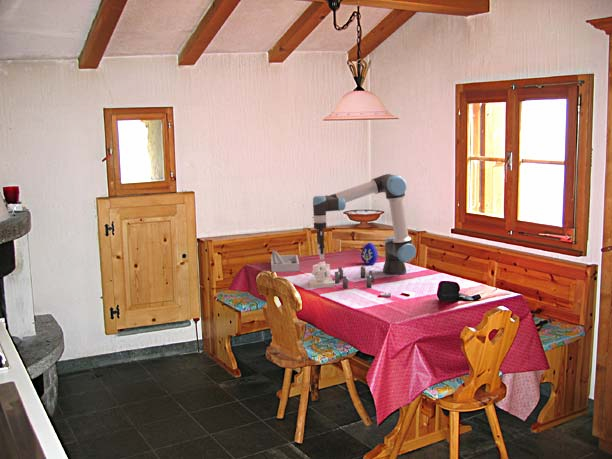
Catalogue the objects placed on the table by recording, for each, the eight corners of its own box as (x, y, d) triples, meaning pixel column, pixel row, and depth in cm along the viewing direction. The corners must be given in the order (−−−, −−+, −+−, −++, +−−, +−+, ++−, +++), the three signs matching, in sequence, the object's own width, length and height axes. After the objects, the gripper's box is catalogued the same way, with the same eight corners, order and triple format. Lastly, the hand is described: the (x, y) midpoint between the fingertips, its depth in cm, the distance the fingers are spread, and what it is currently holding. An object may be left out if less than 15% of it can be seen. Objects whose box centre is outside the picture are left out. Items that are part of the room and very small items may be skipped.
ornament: (359, 264, 473) (359, 243, 470) (365, 262, 480) (365, 241, 478) (374, 266, 467) (374, 244, 464) (380, 263, 475) (380, 242, 472)
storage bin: (297, 261, 487) (297, 254, 486) (299, 271, 458) (299, 263, 457) (271, 262, 486) (271, 255, 485) (271, 272, 457) (271, 264, 456)
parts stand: (331, 281, 427) (331, 277, 426) (333, 287, 413) (333, 283, 412) (308, 282, 426) (308, 278, 426) (310, 287, 412) (310, 283, 412)
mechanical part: (324, 277, 426) (324, 258, 425) (333, 281, 416) (333, 262, 414) (308, 279, 422) (307, 260, 420) (317, 284, 411) (316, 264, 409)
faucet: (293, 264, 461) (279, 243, 472) (278, 270, 458) (265, 249, 469) (293, 276, 472) (279, 256, 483) (279, 282, 469) (266, 261, 480)
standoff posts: (370, 276, 437) (370, 266, 436) (377, 287, 409) (377, 276, 408) (332, 278, 436) (332, 267, 434) (337, 289, 408) (337, 277, 407)
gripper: (312, 219, 425) (313, 253, 429) (315, 225, 401) (316, 261, 404) (324, 218, 426) (325, 252, 429) (328, 225, 401) (329, 260, 405)
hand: (321, 256), depth 417 cm, fingers open, 13 cm apart
